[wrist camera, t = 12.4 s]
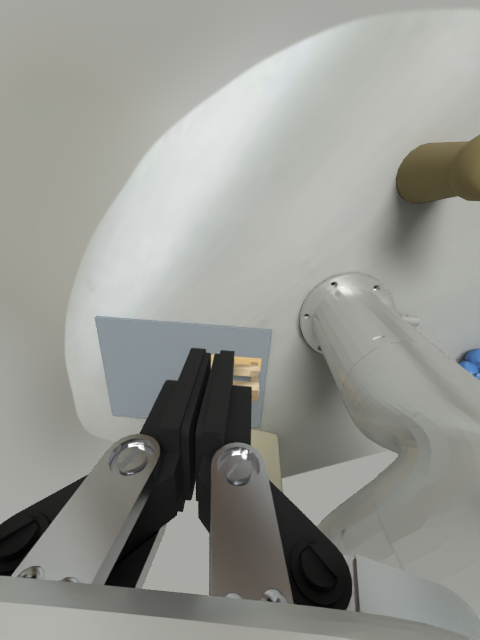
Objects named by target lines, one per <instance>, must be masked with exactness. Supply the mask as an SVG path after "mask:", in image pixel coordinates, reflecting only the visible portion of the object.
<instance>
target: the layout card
mask: <svg viewBox="0 0 480 640" xmlns="http://www.w3.org/2000/svg"><path fill="white" fill-rule="evenodd" d="M95 321H96V327H97V332H98V338H99V343H100V349H101V354H102V360H103V365H104V371H105V377H106V382H107V388H108V393H109V399H110V404H111V410H112V415H113V416H125V417H137V418H148V415H149V413H150V411H151V409H152V407H153V405H154V403H155V401H156V399H157V397H158V395H159V393H160V391H161V389H162V386H163V384H164V383H165V381H166V380H177V381H178V378H179V376H180V374H181V371H182V369H183V366H184V364H185V362H186V359H187V357H188V354H189V352H190V350H191V348H201V349H206V353H211V362H213V359H214V355H215V353H217V354H220V351H221V350H226V351H235V355H234V364H242V365H251V362H257V363H258V366H259V374H258V383H259V397H258V401H252V408H251V427H255V428H260V421H261V413H262V405H263V397H264V389H265V381H266V373H267V364H268V356H269V348H270V340H271V332H272V330H270V329H257V328H244V327H231V326H218V325H205V324H192V323H179V322H166V321H153V320H140V319H127V318H114V317H101V316H96V317H95ZM233 380H234V381H246V382H251V377H249V376H237V375H233Z"/></svg>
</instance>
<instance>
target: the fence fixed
mask: <svg viewBox="0 0 480 640" xmlns="http://www.w3.org/2000/svg"><path fill="white" fill-rule="evenodd" d="M212 363H213V362H211V367H212ZM258 374H259V366H258V363H257V362H251V365H242V364H234V372H233V375H237V376H249V377H251V382H246V381H234V380H233V385H238V386H251V387H252V401H258V397H259V383H258Z"/></svg>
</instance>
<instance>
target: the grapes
mask: <svg viewBox="0 0 480 640" xmlns="http://www.w3.org/2000/svg"><path fill="white" fill-rule="evenodd" d="M465 359H466V361H462V362H459V363H458V364H459V365H461V366H462V367H463V368H464V369H466V370H467V371H468V372H470V373H471V374H472V375H473V376H475V377H476V378H477V379H479V380H480V349H473V350H471V351H469V352H468V353H467V355H466V356H465Z"/></svg>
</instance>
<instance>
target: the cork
mask: <svg viewBox="0 0 480 640" xmlns="http://www.w3.org/2000/svg"><path fill="white" fill-rule="evenodd" d="M396 181H397V189H398V191H399V194H400V195H401V196H402V197H403V198H404V199H405V200H406V201H409V202H411V203H425V202H430V201H435V200H440V199H445V198H450V197H455V196H459V197H461V198H463V199H466V200H468V201H480V135H479V136H477V137H476V138H474V139H472V140H471V141H469V142H445V143H428V144H424V145H421V146H419V147H417V148H416V149H414V150H413V151H411V152H410V153H409V154H408V155H407V156H406V158H405V159H404V160H403V162H402V164H401V165H400V167H399V170H398V174H397V177H396Z"/></svg>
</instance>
